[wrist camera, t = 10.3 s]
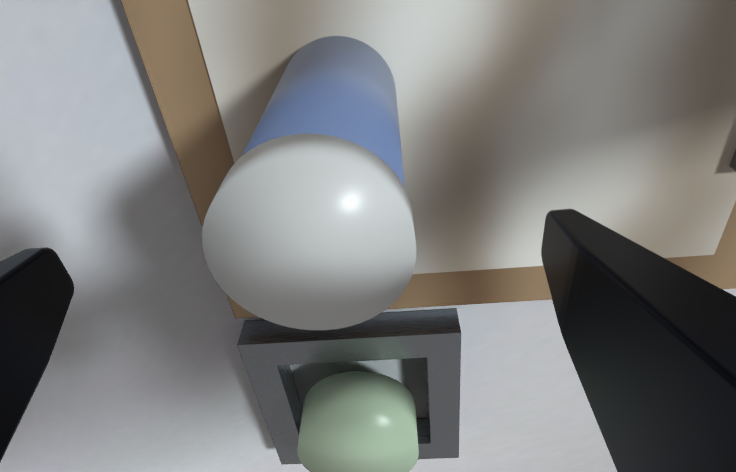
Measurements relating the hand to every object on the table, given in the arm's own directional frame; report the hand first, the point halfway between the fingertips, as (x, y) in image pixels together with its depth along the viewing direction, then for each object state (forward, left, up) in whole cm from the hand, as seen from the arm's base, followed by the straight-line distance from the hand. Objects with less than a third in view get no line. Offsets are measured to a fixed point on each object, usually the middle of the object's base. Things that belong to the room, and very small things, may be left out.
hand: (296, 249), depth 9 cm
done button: (+1, +16, -8) cm, 18 cm away
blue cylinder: (0, 0, -8) cm, 8 cm away
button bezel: (+1, +16, -9) cm, 18 cm away
